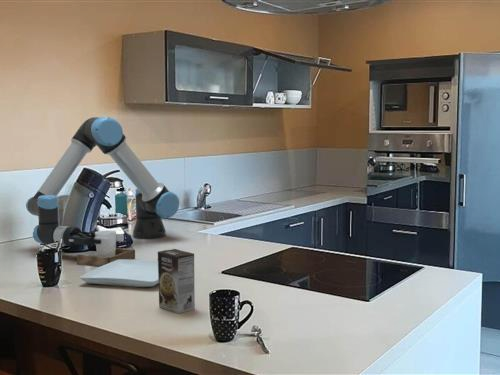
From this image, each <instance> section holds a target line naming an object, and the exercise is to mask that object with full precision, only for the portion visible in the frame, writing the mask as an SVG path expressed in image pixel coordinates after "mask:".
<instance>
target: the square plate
mask: <svg viewBox="0 0 500 375" xmlns="http://www.w3.org/2000/svg"><path fill="white" fill-rule="evenodd" d="M79 279H80V280H82V281H84V282H85V283H87V284H94V285H95V284H96V285H103V286H104V285H105V286H118V287H131V286H134V287H136V288H149V287H154V286H156V285H157V284H159V280H158V259H157V260H155V259H132V260H122V259H119V260H116V261H113V262H111V263H108V264H106V265H103V266H101V267H99V266H97V267H96V268H93V269H92V270H90V271H88V272H86V273H84V274H83V275H80V276H79Z"/></svg>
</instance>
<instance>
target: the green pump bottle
mask: <svg viewBox="0 0 500 375" xmlns="http://www.w3.org/2000/svg"><path fill="white" fill-rule="evenodd" d="M121 187H122V188H120V189H117V188H116V192H117V193H116V194H115V195H114V202H115V203H114V204H115V206H114V207H115V208H114V209H115V210H114V211H115V214H116V213H121V214H123V215H126V216H127V217H128V218H129V211H128V209H129V208H128V195H127V194H126V193H125V191H126V190H125V187H124V186H121ZM118 192H122V193H118ZM123 192H124V193H123Z"/></svg>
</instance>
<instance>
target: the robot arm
mask: <svg viewBox="0 0 500 375" xmlns="http://www.w3.org/2000/svg"><path fill="white" fill-rule="evenodd" d="M123 132H124V131H123V127H122V125H121V123H120V122H119V121H118V120H117V119H115V118H113V117H110V116H100V117H96V116H95V117H90V118H88V119H86V120H85V121H83V123H81V125H80V126H79V127H78V129H77V131H76V132H75V134H74V135H73V136H72V137H71V140H70V141H71V143H70V145H69V146H68V148H66V150H65V152H64V153H63V155H62V156H61V157H60V159H59V160H58V162H57V163H56V164H55V166H54V167H53V169H52V170H51V172H50V173H49V175H48V176H47V178H46V179H45V180H44V182H43V183H42V185H41V186H40V187H39V189H38V190H37V192H36V193H35V194H34V195H33V196H32V197H30V198H28V199H27V201H26V202H25V208H26V211H27V212H28V213H30V214H31V215H32V216H34V217H35V216H36V217H37V218H38V224H37V225H36V226H35V227H34V228H33V231H32V237H33V238H32V239H34V241H35V242H36V243H40V244H43V245H46V244H45V243H50V242H56V241H59V240H60V239H62V245H61V247H63V248H64V247H65V246H68V247H78V245H81V246H86V247H89V246H90V248H91V247H92V248H93V247H94V246H96V245H104V246H110V238H98V237H95V232H96V231H94V230H93V231H92V230H91V231H82V230H81V229H80V227H77V226H67V225H59V203H58V197H57V196H58V195H59V193H60V192H61V190H62V189H63V188H64V186H65V185H67V184H66V183H67V182H68V181H69V180H70V178H71V177H72V175H73V173H74V172H75V171H76V169H77V168H78V167H79V165H80V164H81V163H82V160H83V159H84V157H85V156H86V155H87V154H89V153H91V152H92V151H93V149H94V148H95V147H96V146H97V147H98V149H99V150H100V151H101V152H102V153H103V154H104V155H108V156H110V157H111V158H112V160H113V161H114V162H115V163H116V165H117V166H118V167H119V168H120V169H121V171H122V172H123V173H124V174H125V176H126V177H127V179H129V180H130V181H131V184H133V185H134V186H135V188H136V190H135V214H136V215H135V216H136V218H135V219H136V220H135V224H134V227H133V231H132V237H133V238H135V239H146V240H147V239H157V238H163V237H165V236H166V235H167V234H166V228H165V225H164V223H163V219H169V218H172V217H173V216H175V215H176V214H177V212H178V210H179V207H180V198H179V197H178V195H177V194H175V193H174V192H172V191H170V190H169V189H168V188H167V186H165V185H164V183H162V182H158V181H157V180H156V178H155V177H154V176H153V175H152V174H151V172H150V171H149V170H148V168H147V167H146V166H145V164H143V162H142V161H141V159H140V158H139V157H138V156H137V155H136V153H135V152H134V151H133V150H132V149H131V147H130V146H129V145H128V143H127V142H126V140H127V136H126V135H125V134H124V133H123ZM124 236H125V235H124V234H121V233H116V242H122V243H123V242H124V241H125V240H124V238H125V237H124ZM54 245H56V244H54ZM56 246H57V245H56Z"/></svg>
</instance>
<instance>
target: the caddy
mask: <svg viewBox="0 0 500 375" xmlns="http://www.w3.org/2000/svg"><path fill="white" fill-rule="evenodd" d="M119 259H122V260H136V250H135V249H132V248H131V249H130V248H120V247H119V248H118V247H116V251H115V256H112V257H99V256H97V255H86V254H76V265H82V266H92V267H101V266H103V265H106V264H108V263H111V262H113V261H116V260H119Z"/></svg>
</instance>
